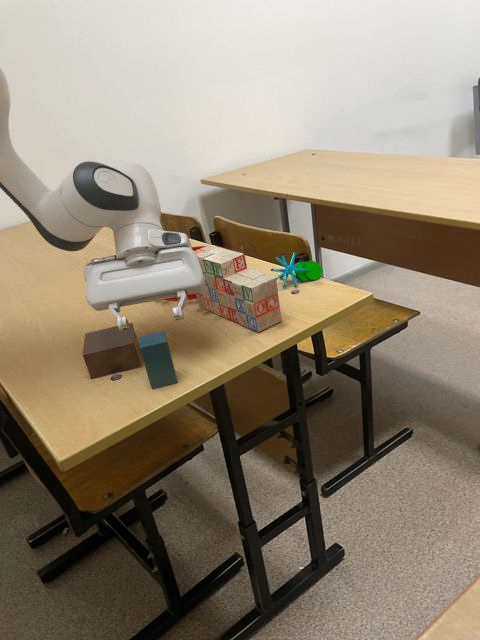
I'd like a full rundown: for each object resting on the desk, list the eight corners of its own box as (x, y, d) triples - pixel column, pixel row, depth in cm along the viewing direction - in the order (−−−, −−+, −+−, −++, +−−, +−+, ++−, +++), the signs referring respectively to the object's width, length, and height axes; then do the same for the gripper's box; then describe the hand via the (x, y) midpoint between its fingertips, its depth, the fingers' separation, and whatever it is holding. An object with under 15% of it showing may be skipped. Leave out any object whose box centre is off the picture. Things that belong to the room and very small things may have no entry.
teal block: (151, 389, 88) (139, 347, 84) (150, 376, 92) (138, 336, 88) (177, 382, 89) (166, 341, 85) (175, 370, 93) (164, 330, 89)
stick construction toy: (275, 284, 114) (272, 249, 115) (265, 293, 121) (263, 260, 122) (325, 286, 118) (323, 252, 119) (313, 294, 124) (311, 262, 126)
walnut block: (91, 379, 94) (82, 355, 92) (92, 356, 102) (84, 333, 99) (141, 366, 95) (134, 342, 93) (139, 344, 103) (132, 322, 101)
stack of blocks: (282, 321, 103) (274, 261, 97) (258, 333, 100) (248, 273, 94) (221, 296, 119) (210, 243, 113) (197, 306, 116) (186, 252, 110)
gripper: (76, 253, 90) (83, 329, 86) (195, 232, 91) (208, 306, 87) (88, 268, 96) (96, 340, 92) (200, 249, 97) (212, 319, 93)
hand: (151, 323), depth 89 cm, fingers open, 8 cm apart
